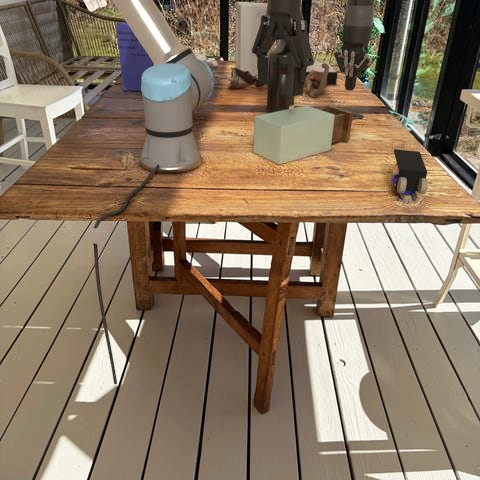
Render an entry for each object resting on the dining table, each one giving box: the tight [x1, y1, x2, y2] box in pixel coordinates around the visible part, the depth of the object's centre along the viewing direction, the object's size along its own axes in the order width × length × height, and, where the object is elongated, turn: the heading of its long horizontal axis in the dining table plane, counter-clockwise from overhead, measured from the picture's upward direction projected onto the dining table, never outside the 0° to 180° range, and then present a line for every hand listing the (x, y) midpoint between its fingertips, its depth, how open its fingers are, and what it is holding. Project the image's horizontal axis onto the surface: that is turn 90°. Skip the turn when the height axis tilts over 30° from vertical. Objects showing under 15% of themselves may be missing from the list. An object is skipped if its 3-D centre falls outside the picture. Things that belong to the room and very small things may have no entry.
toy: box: [194, 51, 219, 68], centre depth 223 cm, size 24×25×7 cm
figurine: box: [213, 66, 268, 89], centre depth 190 cm, size 24×8×30 cm
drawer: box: [318, 104, 364, 144], centre depth 135 cm, size 23×10×8 cm, turn 126°
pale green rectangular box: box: [252, 104, 335, 165], centre depth 129 cm, size 19×11×10 cm, turn 126°
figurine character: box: [391, 148, 429, 201], centre depth 109 cm, size 7×8×15 cm
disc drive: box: [306, 61, 338, 86], centre depth 207 cm, size 18×22×5 cm
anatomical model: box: [304, 63, 329, 98], centre depth 183 cm, size 13×9×15 cm
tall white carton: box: [234, 1, 272, 77], centre depth 210 cm, size 19×15×28 cm
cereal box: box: [115, 21, 154, 92], centre depth 181 cm, size 17×5×24 cm, turn 86°
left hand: (279, 89), depth 120 cm, fingers open, 13 cm apart
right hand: (349, 89), depth 135 cm, fingers closed
